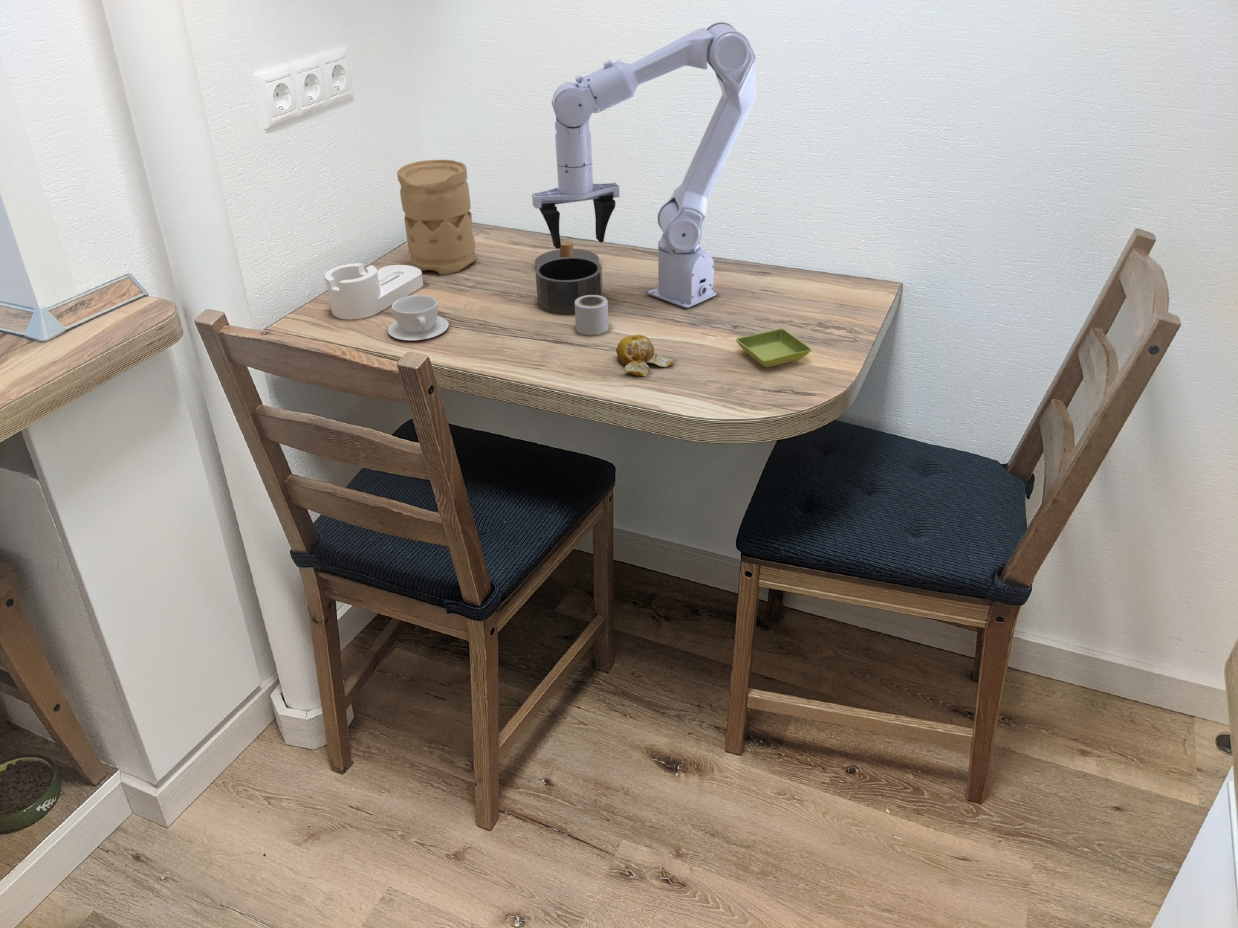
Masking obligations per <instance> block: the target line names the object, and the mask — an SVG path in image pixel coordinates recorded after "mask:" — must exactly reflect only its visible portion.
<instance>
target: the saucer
mask: <svg viewBox="0 0 1238 928" xmlns="http://www.w3.org/2000/svg"><path fill="white" fill-rule="evenodd" d="M735 340H736V343H737V344H738V345H739V347H740V348H741V349H742V350H743V351H744V352H745V353H747V355H749V356H750V357H751V358H752V359H754V360H755V361H756V362H758V363H759V364H760V365H762V366H763V367H764V368H771V367H772V368H773V367H775V366H780V365H783V364H789V363H792V362H795V361H799V360H801V359H803V358H804V357H806V356H807V355H808V354H810V352H812V351H813V350H812V348H811V347H810V346H809V345H807V344H806V343H805V342H803V341H802V340H800V339H798V338H797V337H796V336H794V335H793V334H792V333H790V332H789V331H788V330H787V329H785V328H776V329H772V330H768V331H763V332H758V333H754V334H749V335H746V336H741V337H737V338H736V339H735Z"/></svg>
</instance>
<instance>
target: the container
mask: <svg viewBox="0 0 1238 928" xmlns="http://www.w3.org/2000/svg"><path fill="white" fill-rule="evenodd" d="M396 175H397V181H398V183H399V185H400V190H399V195H400V201H401V207H402V212H403V213H404V219H403V220H404V227H405V234H406V241H407V247H408V253H409V255H410V266H414V267H416V268H418V269H420V270H421V272H426V271H427V272H428V271H435V272H437V273H438V274H439V275H450V274H455V273H456V272H457V273H460V272H461V270H463V269H464V268H466V267H467V266H469V265H470V264H472V263H474V262H476V261H475V260H476V256H477V255H476V254H477V253H476V251H475V250H476V242H475V241H476V240H475V235H474V233H473V216H472V212H471V211H470V210H471V207H472V205H471V197H470V188H469V187H470V186H469V183H468V182H467V180H468V169H467V165H466V164H465V163H463V162H461V161H457V160H453V159H427V160H426V159H425V160H419V161H415V162H411V163H407V164H404V165H403V166H401V167H400V168H399V169H398V170H397V171H396Z"/></svg>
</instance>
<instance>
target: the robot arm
mask: <svg viewBox="0 0 1238 928" xmlns="http://www.w3.org/2000/svg"><path fill="white" fill-rule="evenodd" d="M756 59H757V56H756V53H755V52H754V50H753V48H752V46H751V42H750V41H749V40H748V38H747V37H746V35H745V34H743V33H741V32H740V31H738V30H737V29H736V28H735V27H734V26H733V25H732V24H730V23H728V22H726V21H725V22H724V21H717V22H714V23H712V24H710V25H709V26H708V27H700V28H698V29H696V30H693V31H691V32H690V33H687V34H686V35H684V36H682V37H680V38H678V39H676V40H674V41H672V42H670V43H668V44H666V45H664V46H662V47H661V48H659V49H656V50H655V51H653V52H651V53H649V54H647V55H645V56H643V57H641V58H639V59H638V60H636V61H634V62H632V63H626V62H624V61H622V60H616V61H614V62H612V60H611V59H607V60H606V61H604V62H603V63H602V65H603V67H602V68H599V69H597V70H595V71H593V72H591V73H589V74H586V75H584V76H582V75H581V74H580V75H577V76H575V77H574V79H575V82H574V81H573V82H572V81H566V82H564V83H561V84H559V86H557V88H556V89H555V90H554V92H553V95H552V99H551V106H552V109H553V111H554V112H553V113H554V115H555V123H554V128H555V131H556V132H555V134H554V141H555V156H556V170H557V171H556V172H557V173H556V175H557V187H556V188H555V187H554V188H551V189H548V190H544V191H540V192H535V193H531V202H532V206H533V208H535V209H537V210H539V212H540V213H541V215H542V216H543V220H544V221H545V223H546V226H547V228H548V231H549V233H550V237H551V240H552V244H553V247H554V248H555V250H559V249H560V248H561V234H560V233H561V232H560V218H561V213H560V211H559V210H558V207H557V206H556V205H562V204H570V203H578V202H583V201H591V200H592V202H593V208H594V216H595V217H594V218H595V239H596V240H597V241H598V243H604V242H605V237H606V236H605V235H606V230H607V227H608V223H609V221H610V218H611V216H612V213H614V211H615V209H616V205H617V204H616V200H615V199H616V198H620V185H619V184H617V183H616V182H609V183H594V177H593V176H594V175H593V153H592V152H593V151H592V150H593V149H592V133H591V131H590V119H591V116H592V115H593V114H599V113H600V112H603V111H605V110H607V109H609V108H612V107H614V106H616V105H618V104H620V103H623V102H625V101H627V100H629V99H631V98H633V97H634V96H635V93H636V90H637V88H638V86H639V85H642V84H644V83H646V82H649V81H651V80H654V79H656V78H659V77H661V76H664V75H666V74H669V73H671V72H673V71H676V70H678V69H680V68H683V67H692V68H696V69H701V70H708V65H709V66H710V67H711V69H712V70H713V71H714V73H715V77H716V80H717V82H718V84H719V87H720V90H721V93H722V94H721V96H720V98H719V100H718V103H717V105H716V107H715V109H714V111H713V114H712V116H711V118H710V120H709V122H708V125H707V127H706V129H705V131H704V133H703V136H702V138H701V140H700V141H699V145H698V147H697V149H696V151H695V153H694V156H693V158H692V160H691V162H690V164H689V166H688V169H687V171H686V173H685V175H684V178H683V180H682V181H681V184H680V185H678V186H677V187H676V189H674V190H673V192H672V195H671V197H669V199H668V200H667V201H666V202H665V203H663V205H661V207H660V209H659V210H658V213H657V224H658V226H659V228H660V230H661V232H662V233H663V234H662V235H661V237H660V239H659V240H658V241H657V260H658V261H657V285H658V286H657V287H655V288H653V289H650V290H648V291H647V294H648V295H649V296H651V297H655V298H656V299H659V300H662V301H664V302H668V303H671V304H673V305H676V306H678V307H682V308H683V309H689V308H691V307H693V306H697V305H698V304H700V303H702V302H704V301H707V300H709V299H711V298H713V297H715V296H717V292H716V291H714V285H715V283H714V281H715V278H714V277H715V262H714V259H713V256H712V255H710V254H709V253H707V252H706V251H705V250H703V248H702V247H701V240H702V237H703V223H704V221H705V219H706V216H707V210H708V201H709V198H710V196H711V194H712V192H713V190H714V188H715V186H716V184H717V181H718V179H719V177H720V175H721V173H722V171H723V168H724V166H725V164H726V162H727V160H728V158H729V157H730V154H731V151H732V149H733V148H734V145H735V144H736V141H737V139H738V137H739V135H740V133H741V130H742V128H743V127H744V124H745V122H746V120H747V119H748V116H749V114H750V111H751V110H752V108H753V105H754V103H755V101H756V97H757V95H758V94H757V92H758V91H757V79H756V78H757V77H756Z"/></svg>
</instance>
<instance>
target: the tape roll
mask: <svg viewBox="0 0 1238 928" xmlns="http://www.w3.org/2000/svg"><path fill="white" fill-rule="evenodd" d="M574 315H575V330H576V332H577V333H578V334H580V335H584V336H599V335H602V334H605V333H606V332H608V331H609V328H610V327H609V300H608V298H606V297H605V296H604V295H603V296H599V295H586V296H582V297H579V298H577V299H576V300H575V314H574Z"/></svg>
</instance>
